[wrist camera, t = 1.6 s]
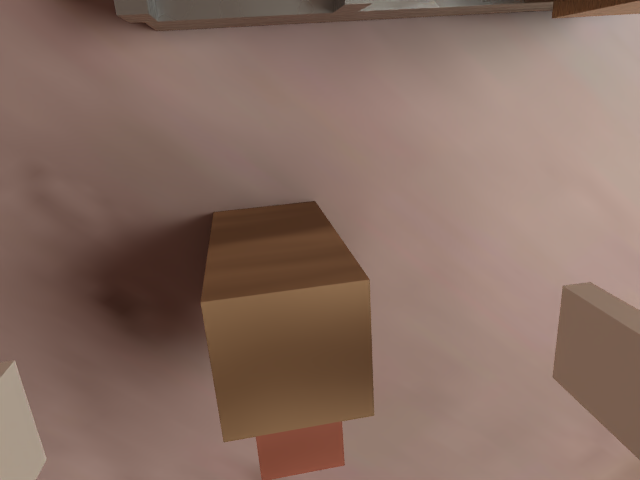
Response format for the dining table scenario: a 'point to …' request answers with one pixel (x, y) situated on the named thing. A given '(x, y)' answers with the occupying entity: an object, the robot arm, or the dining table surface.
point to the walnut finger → (287, 335)
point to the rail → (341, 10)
